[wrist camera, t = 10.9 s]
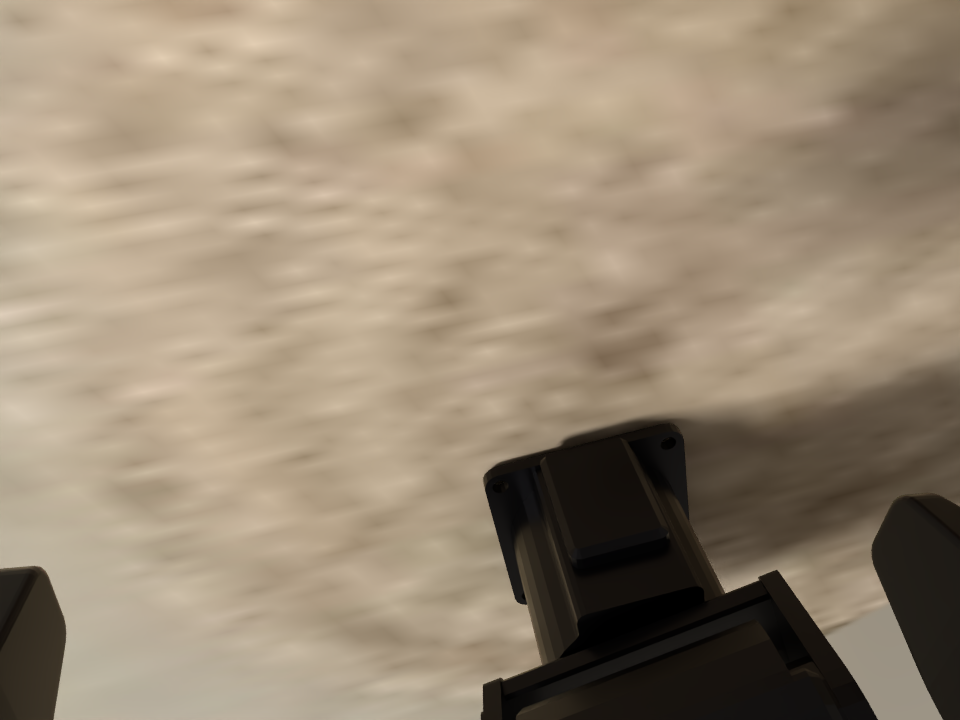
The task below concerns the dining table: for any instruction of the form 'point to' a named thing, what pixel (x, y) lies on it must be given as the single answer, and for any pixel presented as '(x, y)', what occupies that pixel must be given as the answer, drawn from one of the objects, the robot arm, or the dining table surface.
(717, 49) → the dining table surface
